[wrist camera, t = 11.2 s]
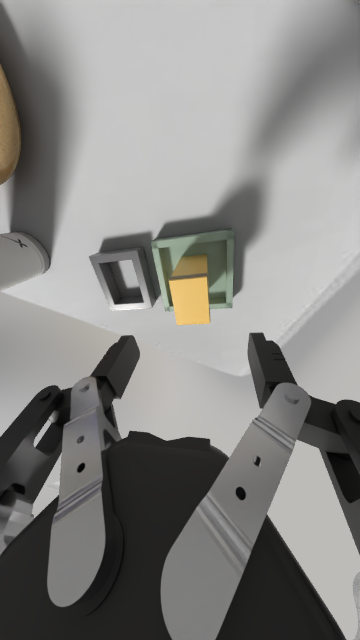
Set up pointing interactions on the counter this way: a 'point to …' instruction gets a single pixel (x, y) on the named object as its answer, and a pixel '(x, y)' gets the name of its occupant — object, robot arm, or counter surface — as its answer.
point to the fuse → (191, 290)
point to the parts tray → (209, 243)
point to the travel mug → (20, 258)
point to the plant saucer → (8, 130)
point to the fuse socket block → (109, 283)
